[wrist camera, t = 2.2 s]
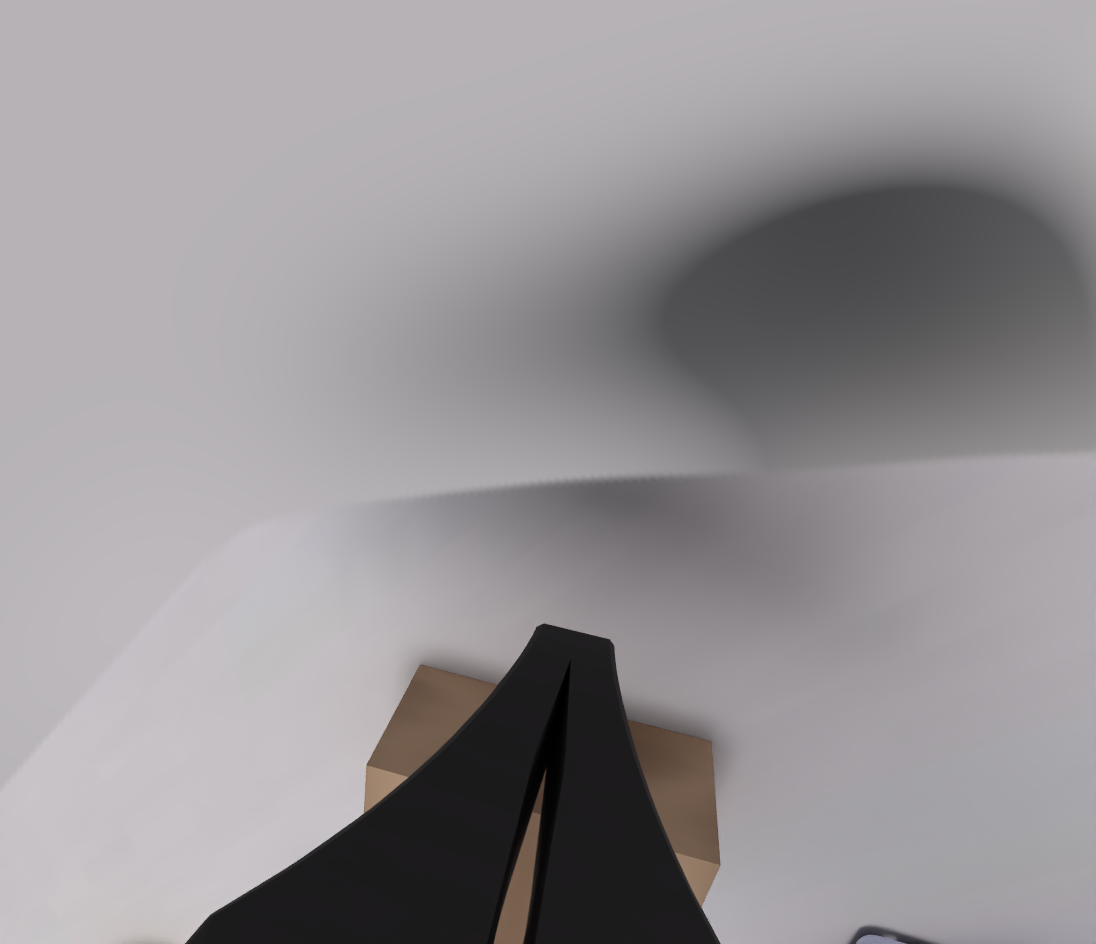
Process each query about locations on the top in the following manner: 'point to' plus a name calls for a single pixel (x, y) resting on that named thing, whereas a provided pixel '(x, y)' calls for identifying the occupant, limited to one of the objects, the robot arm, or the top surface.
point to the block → (665, 758)
